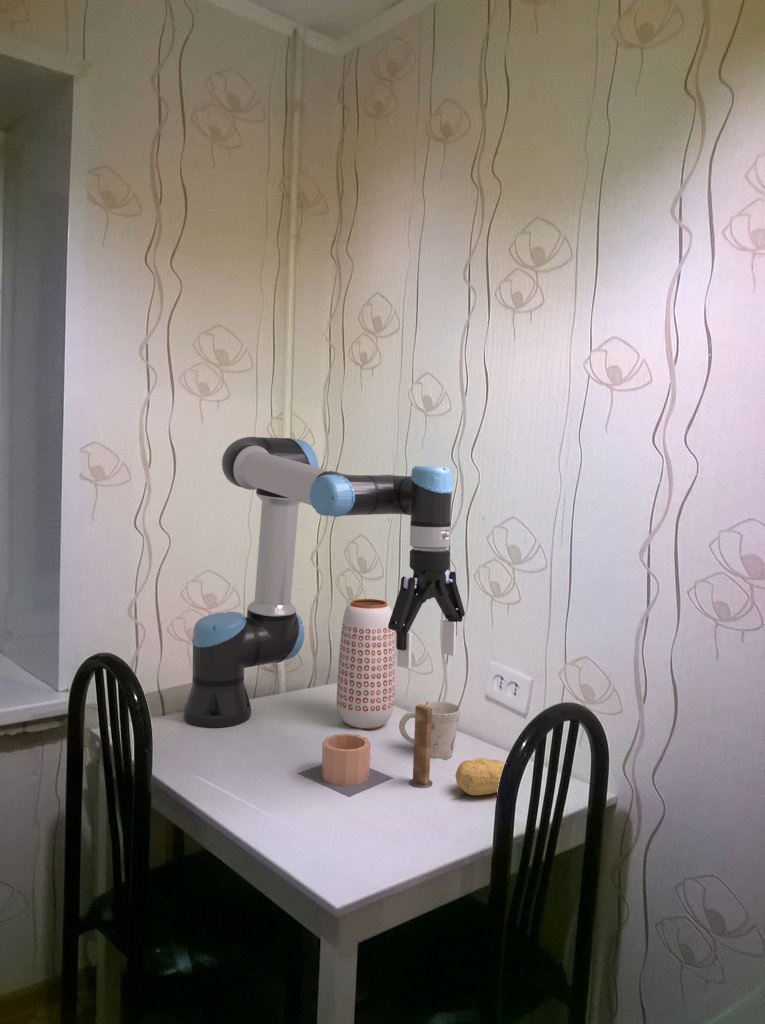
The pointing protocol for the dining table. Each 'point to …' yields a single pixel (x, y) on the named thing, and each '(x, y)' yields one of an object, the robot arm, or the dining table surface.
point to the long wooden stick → (422, 747)
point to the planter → (366, 665)
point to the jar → (345, 759)
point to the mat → (350, 790)
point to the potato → (479, 776)
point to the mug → (438, 728)
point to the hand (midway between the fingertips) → (427, 660)
